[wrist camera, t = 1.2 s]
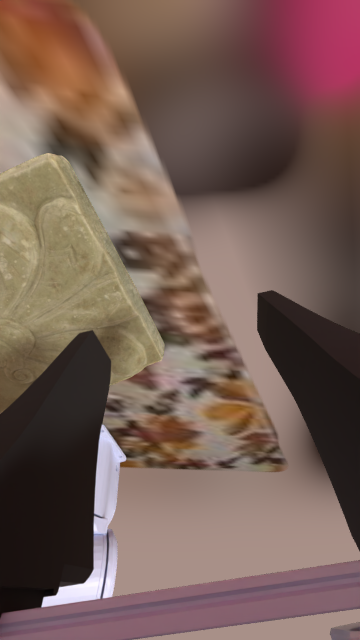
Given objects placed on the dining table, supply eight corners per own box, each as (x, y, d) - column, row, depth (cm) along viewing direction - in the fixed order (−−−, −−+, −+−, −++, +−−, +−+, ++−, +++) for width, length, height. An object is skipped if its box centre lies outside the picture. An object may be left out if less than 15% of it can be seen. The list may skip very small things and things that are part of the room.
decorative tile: (-172, 265, 17) (-239, 283, 14) (66, 151, 15) (46, 145, 12) (13, 406, 27) (-3, 434, 24) (169, 346, 25) (172, 368, 22)
